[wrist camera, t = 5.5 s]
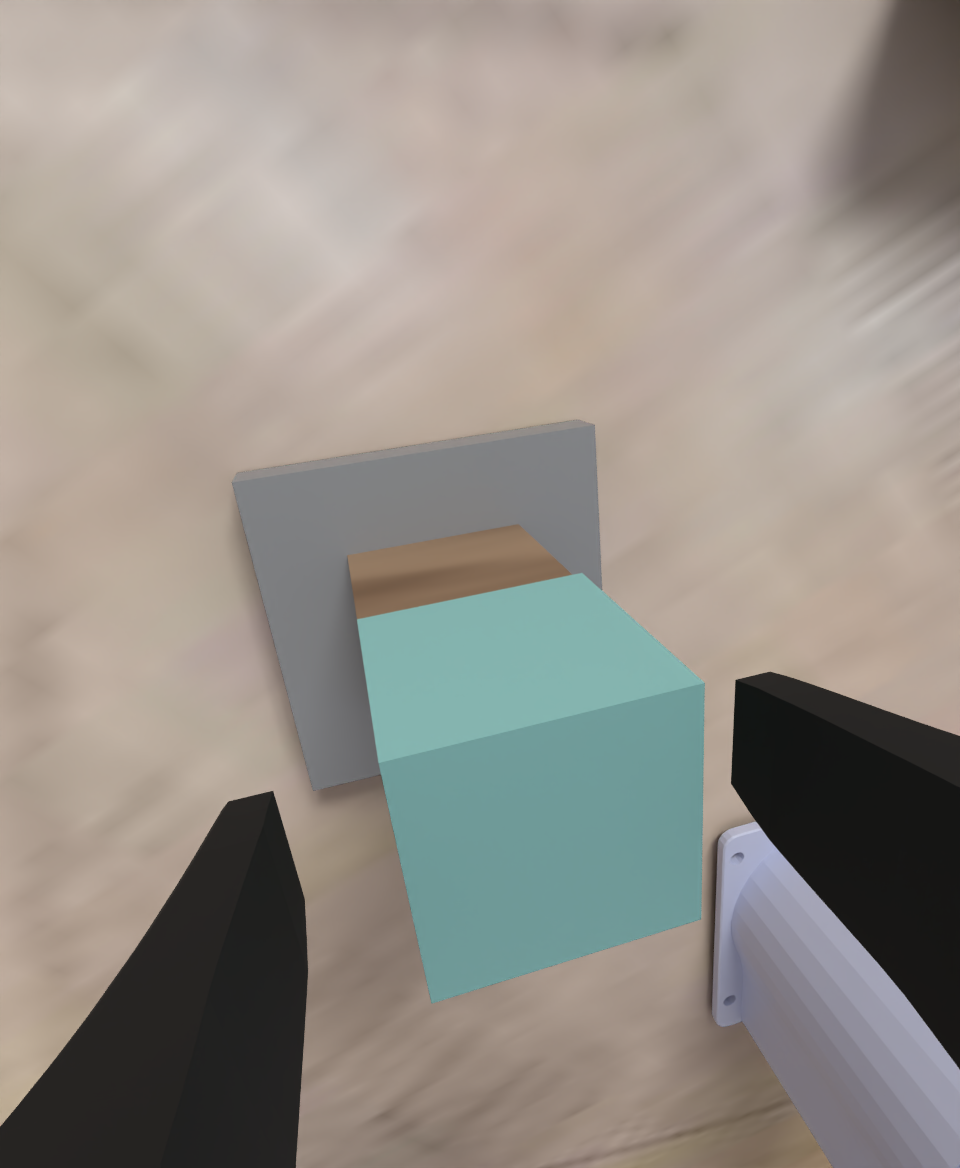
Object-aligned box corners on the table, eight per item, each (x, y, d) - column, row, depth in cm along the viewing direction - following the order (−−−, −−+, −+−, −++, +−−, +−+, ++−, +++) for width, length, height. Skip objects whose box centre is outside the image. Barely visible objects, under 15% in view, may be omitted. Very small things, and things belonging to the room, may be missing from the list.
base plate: (593, 700, 19) (607, 719, 18) (313, 767, 17) (312, 790, 17) (578, 419, 16) (594, 424, 15) (237, 472, 14) (231, 482, 14)
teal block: (594, 757, 13) (701, 919, 9) (397, 807, 12) (431, 1003, 9) (582, 572, 12) (704, 683, 8) (357, 618, 11) (378, 762, 7)
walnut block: (532, 672, 17) (592, 765, 13) (378, 706, 16) (396, 815, 13) (518, 524, 15) (582, 584, 12) (347, 555, 15) (358, 629, 11)
